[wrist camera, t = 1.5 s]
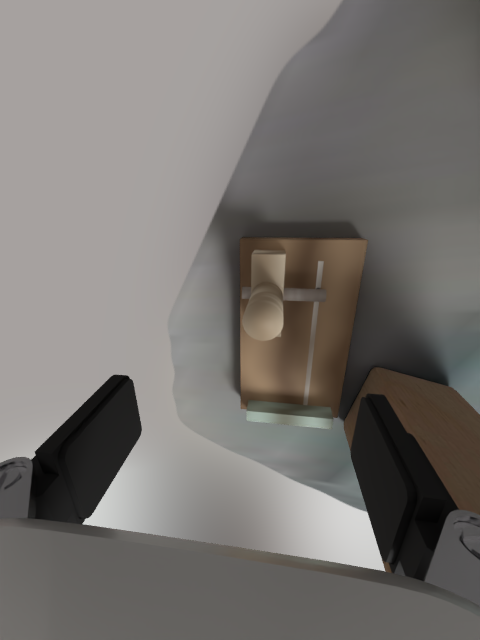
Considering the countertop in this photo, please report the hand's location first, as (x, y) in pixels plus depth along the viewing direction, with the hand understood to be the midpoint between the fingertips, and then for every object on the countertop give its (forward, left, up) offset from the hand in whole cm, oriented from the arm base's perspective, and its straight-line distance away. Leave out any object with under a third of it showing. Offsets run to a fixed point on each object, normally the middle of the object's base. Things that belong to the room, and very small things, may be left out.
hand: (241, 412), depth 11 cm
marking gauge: (-2, 0, -18) cm, 18 cm away
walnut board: (-3, +5, -20) cm, 21 cm away
